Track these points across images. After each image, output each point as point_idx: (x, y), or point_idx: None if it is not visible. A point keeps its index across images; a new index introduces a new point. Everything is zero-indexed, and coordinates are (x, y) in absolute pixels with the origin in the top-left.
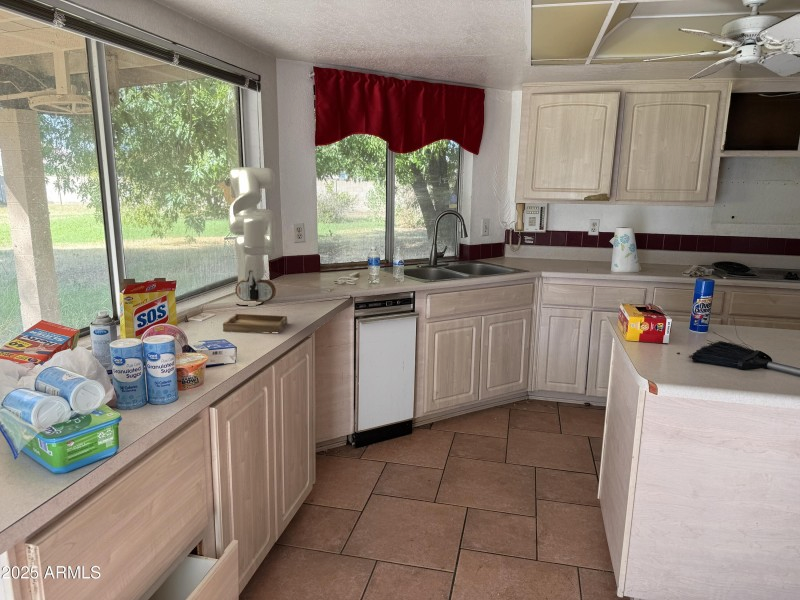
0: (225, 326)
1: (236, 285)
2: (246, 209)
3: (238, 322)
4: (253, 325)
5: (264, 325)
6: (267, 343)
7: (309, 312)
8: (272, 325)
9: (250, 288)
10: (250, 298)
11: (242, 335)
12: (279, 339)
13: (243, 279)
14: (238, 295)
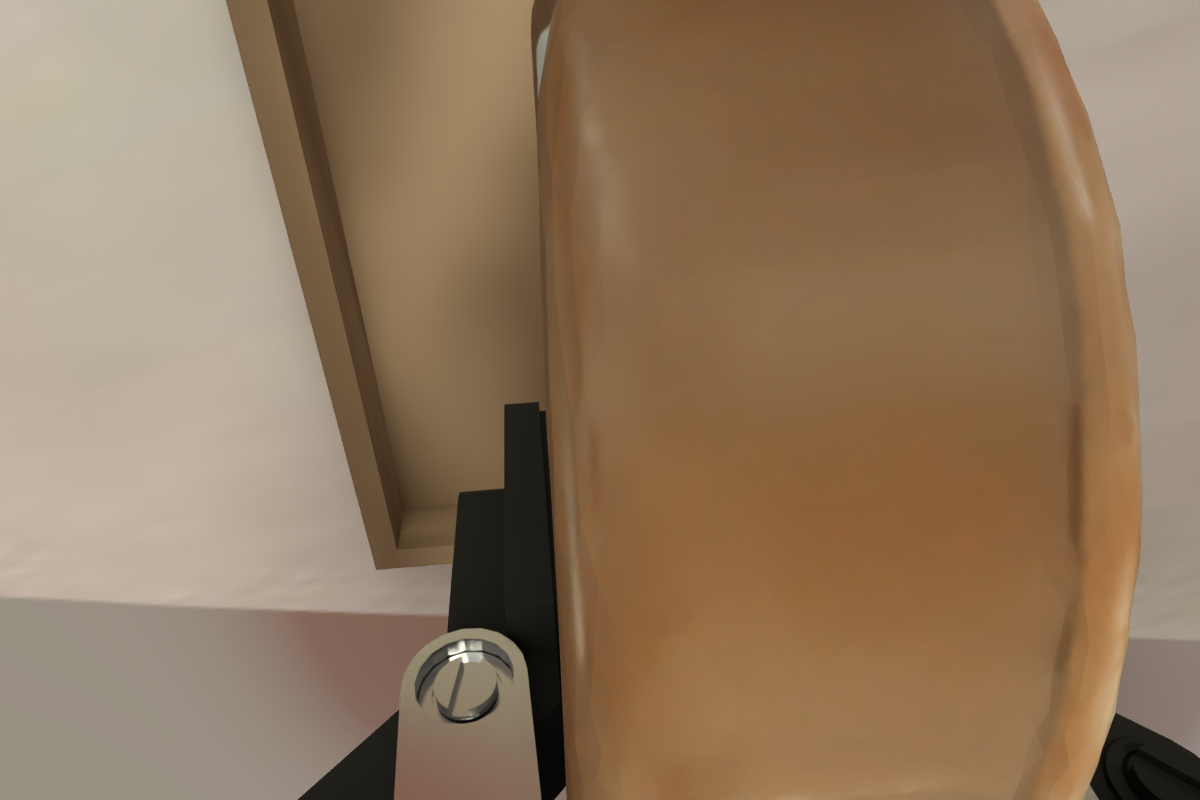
0: None
1: (556, 58)
2: None
3: None
4: (312, 318)
5: (349, 447)
6: (40, 519)
7: (1185, 536)
8: (383, 520)
9: (406, 707)
10: (505, 425)
11: (160, 177)
12: (223, 566)
13: (1066, 622)
14: (542, 66)
